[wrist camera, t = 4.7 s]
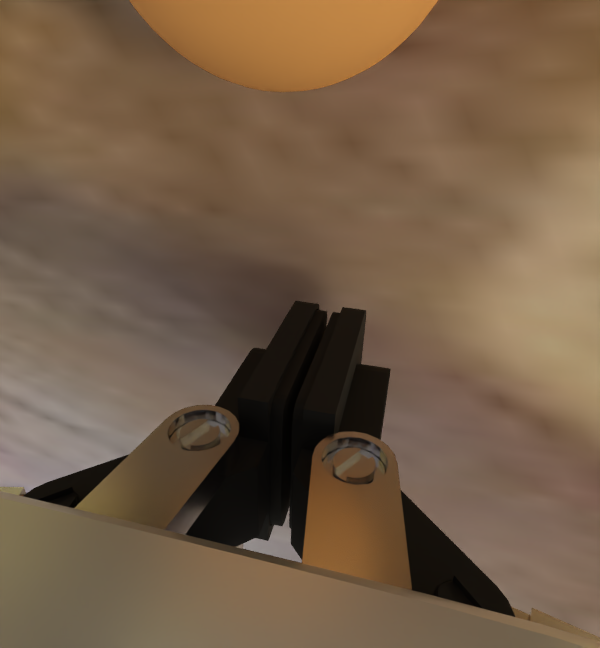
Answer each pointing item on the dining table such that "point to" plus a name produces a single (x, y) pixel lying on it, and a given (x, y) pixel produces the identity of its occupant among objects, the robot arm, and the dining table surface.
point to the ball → (284, 37)
